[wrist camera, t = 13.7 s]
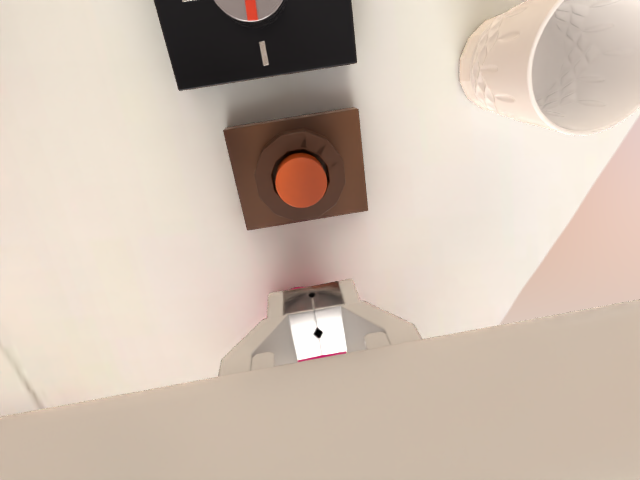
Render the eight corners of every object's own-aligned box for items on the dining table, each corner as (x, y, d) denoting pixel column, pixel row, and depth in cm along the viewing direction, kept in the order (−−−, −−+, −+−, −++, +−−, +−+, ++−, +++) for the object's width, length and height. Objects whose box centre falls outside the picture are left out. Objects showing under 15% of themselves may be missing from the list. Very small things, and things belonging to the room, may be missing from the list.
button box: (249, 223, 32) (244, 239, 29) (226, 127, 29) (218, 133, 26) (364, 204, 32) (373, 218, 29) (354, 106, 29) (363, 110, 26)
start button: (280, 204, 28) (280, 211, 27) (271, 156, 27) (270, 161, 25) (327, 196, 28) (330, 203, 27) (321, 149, 27) (323, 153, 25)
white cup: (480, -14, 26) (583, -63, 17) (571, 27, 28) (710, 2, 19) (433, 99, 29) (501, 109, 20) (518, 131, 31) (617, 153, 22)
